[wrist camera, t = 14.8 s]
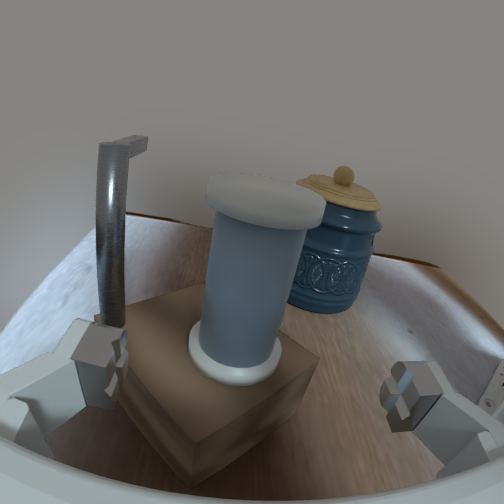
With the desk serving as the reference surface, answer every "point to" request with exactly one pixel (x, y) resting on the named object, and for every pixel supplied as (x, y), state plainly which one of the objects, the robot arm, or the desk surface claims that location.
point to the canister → (336, 244)
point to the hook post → (113, 224)
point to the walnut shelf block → (200, 390)
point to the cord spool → (250, 274)
